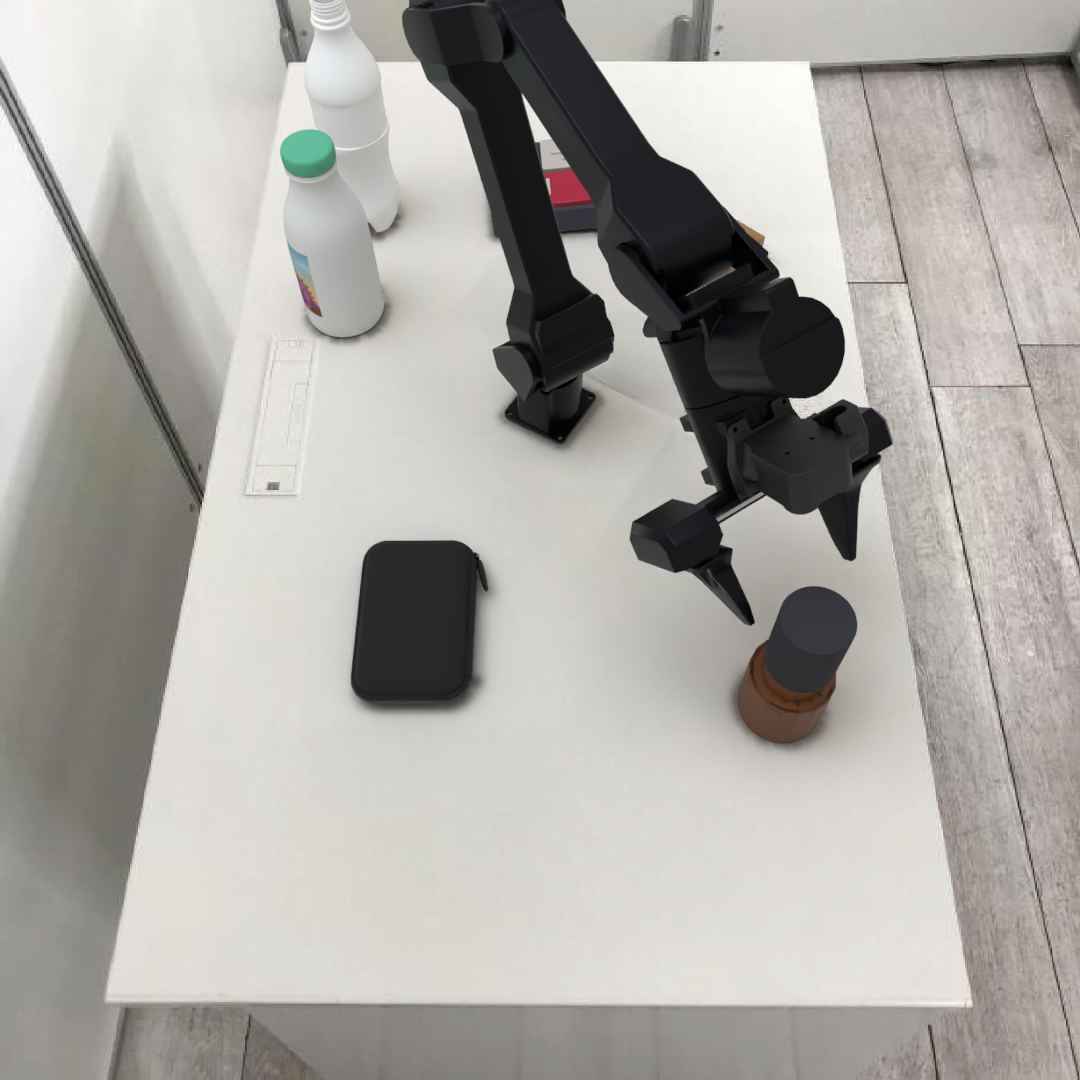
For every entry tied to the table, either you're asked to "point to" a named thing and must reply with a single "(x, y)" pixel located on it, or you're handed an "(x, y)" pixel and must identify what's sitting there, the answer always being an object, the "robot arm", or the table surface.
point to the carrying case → (416, 622)
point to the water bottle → (351, 110)
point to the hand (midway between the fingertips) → (800, 591)
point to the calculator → (564, 191)
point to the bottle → (778, 704)
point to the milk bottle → (329, 239)
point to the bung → (809, 639)
